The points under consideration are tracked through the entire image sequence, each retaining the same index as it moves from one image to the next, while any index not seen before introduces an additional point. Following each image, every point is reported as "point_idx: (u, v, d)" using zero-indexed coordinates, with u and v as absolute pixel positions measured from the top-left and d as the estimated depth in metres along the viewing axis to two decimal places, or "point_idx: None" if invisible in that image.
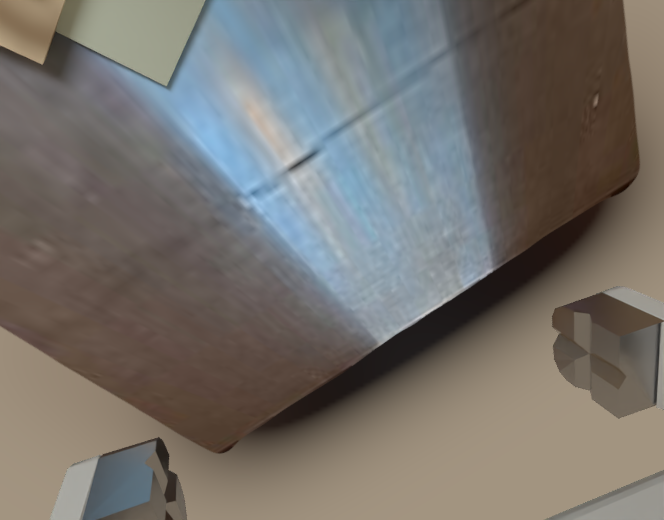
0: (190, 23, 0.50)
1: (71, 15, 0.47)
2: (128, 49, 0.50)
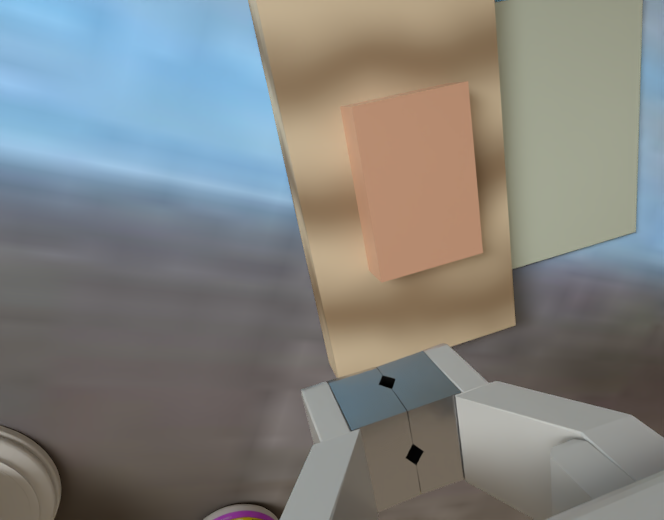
0: (633, 131, 0.32)
1: None
2: (577, 226, 0.33)
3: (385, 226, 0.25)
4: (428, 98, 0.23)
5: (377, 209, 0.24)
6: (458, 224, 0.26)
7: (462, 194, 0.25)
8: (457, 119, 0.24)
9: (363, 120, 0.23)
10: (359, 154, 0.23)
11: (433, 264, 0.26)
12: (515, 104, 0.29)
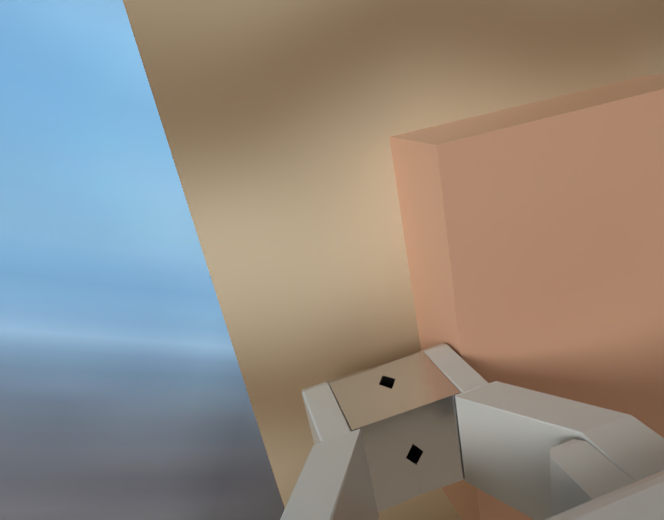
0: None
1: None
2: None
3: None
4: (640, 117, 0.08)
5: None
6: None
7: None
8: None
9: (465, 184, 0.08)
10: (449, 273, 0.08)
11: None
12: None
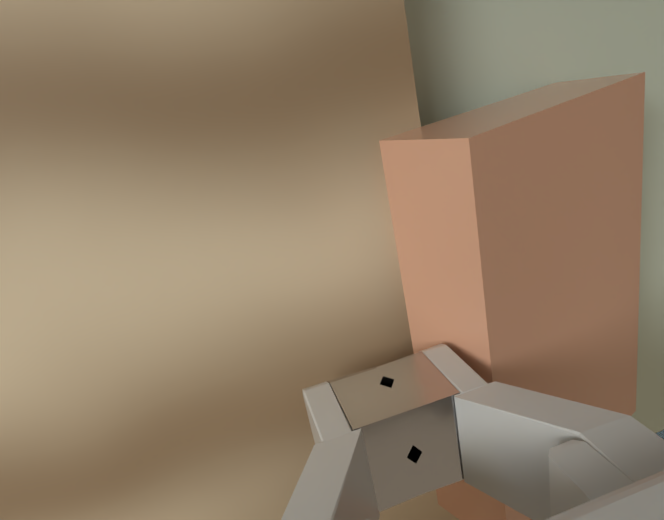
0: None
1: None
2: None
3: None
4: (594, 112, 0.09)
5: None
6: (614, 374, 0.12)
7: (622, 312, 0.12)
8: (627, 157, 0.11)
9: (489, 177, 0.08)
10: (476, 271, 0.08)
11: None
12: None
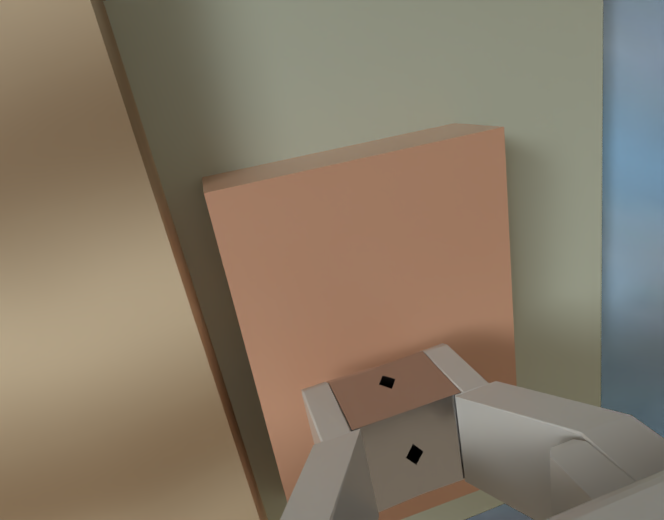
0: (589, 282, 0.14)
1: None
2: None
3: (306, 451, 0.11)
4: (406, 169, 0.09)
5: (285, 419, 0.10)
6: None
7: (482, 370, 0.11)
8: (475, 214, 0.10)
9: (237, 226, 0.09)
10: (234, 303, 0.09)
11: (416, 508, 0.12)
12: None
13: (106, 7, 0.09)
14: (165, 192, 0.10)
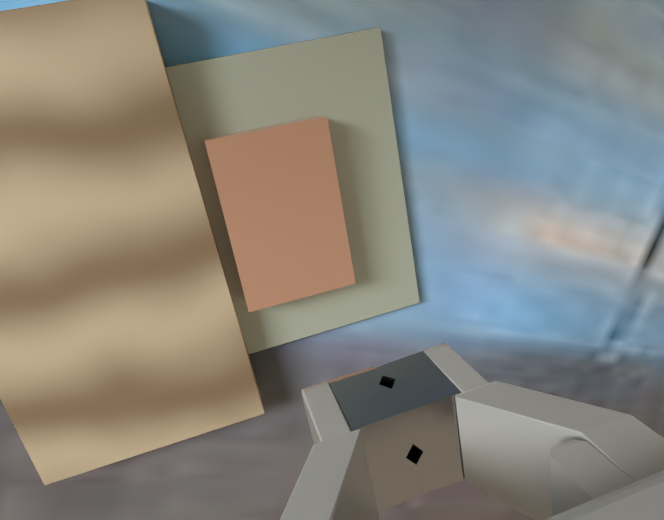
0: (398, 196, 0.28)
1: (252, 319, 0.28)
2: (344, 299, 0.29)
3: (248, 257, 0.25)
4: (285, 133, 0.24)
5: (239, 241, 0.25)
6: (327, 256, 0.26)
7: (329, 226, 0.26)
8: (318, 153, 0.24)
9: (217, 154, 0.23)
10: (216, 187, 0.24)
11: (303, 294, 0.26)
12: None
13: (166, 69, 0.23)
14: (188, 144, 0.24)
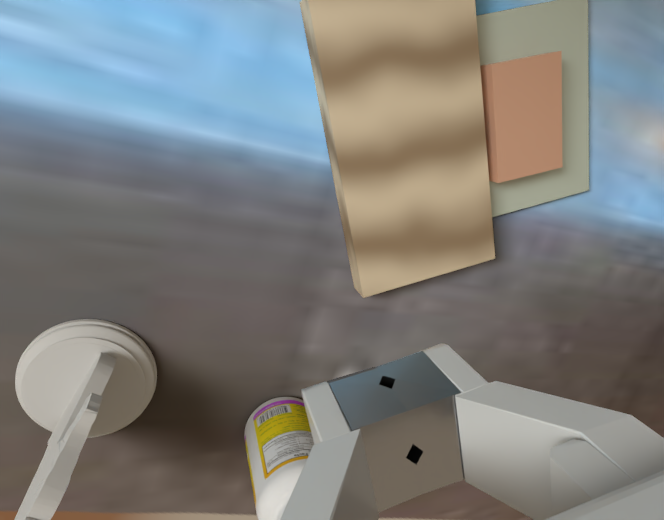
0: (584, 111, 0.42)
1: None
2: (543, 184, 0.43)
3: (504, 144, 0.38)
4: (536, 61, 0.37)
5: (500, 132, 0.38)
6: (548, 146, 0.39)
7: (552, 125, 0.39)
8: (553, 75, 0.38)
9: (497, 73, 0.36)
10: (492, 95, 0.37)
11: (531, 172, 0.40)
12: None
13: None
14: None
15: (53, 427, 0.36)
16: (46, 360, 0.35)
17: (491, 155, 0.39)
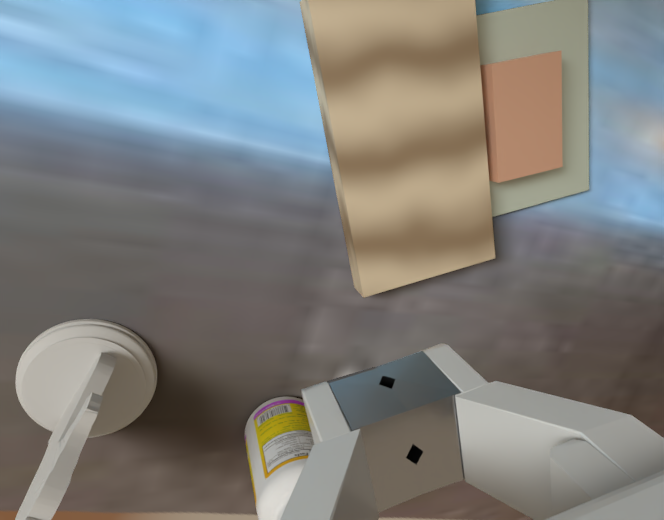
0: (584, 111, 0.42)
1: None
2: (543, 184, 0.43)
3: (504, 144, 0.38)
4: (536, 60, 0.37)
5: (500, 132, 0.38)
6: (548, 146, 0.39)
7: (552, 125, 0.39)
8: (553, 75, 0.38)
9: (497, 73, 0.36)
10: (492, 95, 0.37)
11: (531, 172, 0.40)
12: None
13: None
14: None
15: (53, 427, 0.36)
16: (46, 360, 0.35)
17: (491, 155, 0.39)
